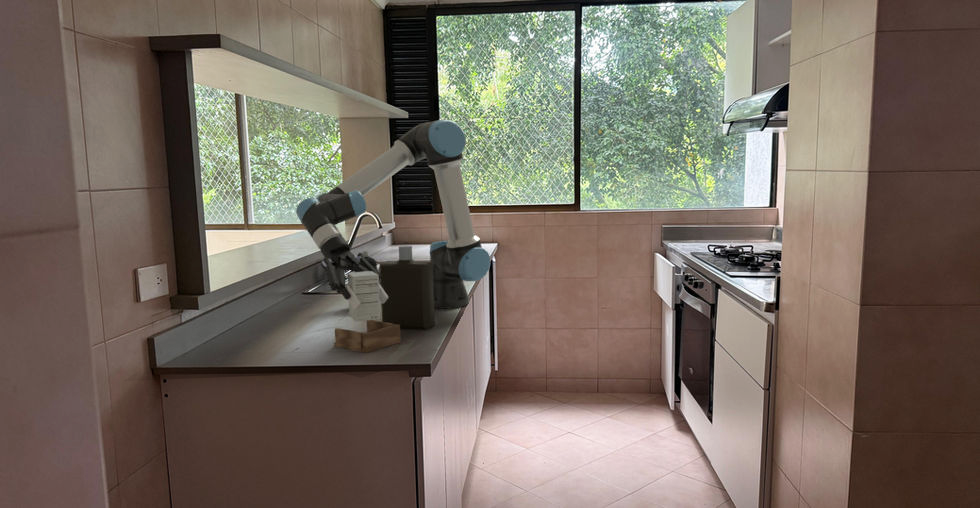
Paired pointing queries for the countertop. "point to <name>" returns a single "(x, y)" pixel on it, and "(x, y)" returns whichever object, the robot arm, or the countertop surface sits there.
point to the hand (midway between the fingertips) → (371, 303)
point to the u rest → (368, 337)
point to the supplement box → (365, 295)
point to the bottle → (408, 291)
